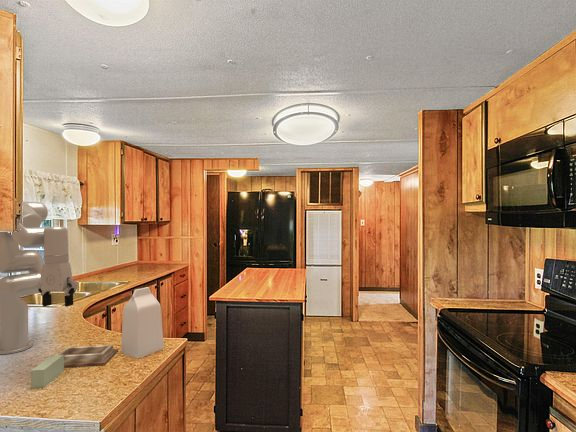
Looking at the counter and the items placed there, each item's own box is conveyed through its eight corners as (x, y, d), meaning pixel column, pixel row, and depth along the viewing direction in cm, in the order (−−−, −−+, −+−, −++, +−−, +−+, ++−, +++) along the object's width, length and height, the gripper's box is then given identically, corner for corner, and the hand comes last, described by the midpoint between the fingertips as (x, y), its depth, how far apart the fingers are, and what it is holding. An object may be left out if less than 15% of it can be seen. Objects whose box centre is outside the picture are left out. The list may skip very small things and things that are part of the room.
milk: (138, 358, 131) (137, 293, 131) (121, 352, 137) (120, 289, 137) (163, 348, 141) (163, 287, 141) (147, 343, 147) (146, 284, 147)
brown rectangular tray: (47, 368, 123) (47, 359, 123) (66, 354, 136) (66, 345, 136) (104, 365, 125) (104, 356, 125) (118, 351, 138) (118, 343, 138)
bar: (31, 388, 109) (30, 370, 109) (52, 371, 121) (51, 355, 121) (44, 387, 109) (43, 369, 109) (63, 371, 121) (63, 354, 121)
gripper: (27, 261, 122) (29, 308, 122) (67, 260, 119) (69, 308, 118) (46, 259, 129) (47, 303, 129) (84, 258, 126) (86, 303, 126)
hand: (58, 305), depth 124 cm, fingers open, 9 cm apart
